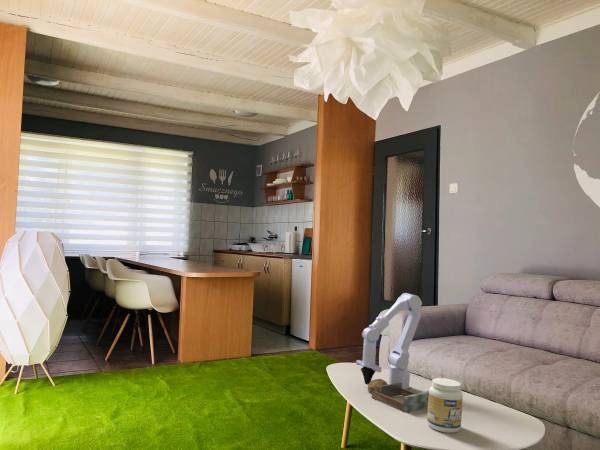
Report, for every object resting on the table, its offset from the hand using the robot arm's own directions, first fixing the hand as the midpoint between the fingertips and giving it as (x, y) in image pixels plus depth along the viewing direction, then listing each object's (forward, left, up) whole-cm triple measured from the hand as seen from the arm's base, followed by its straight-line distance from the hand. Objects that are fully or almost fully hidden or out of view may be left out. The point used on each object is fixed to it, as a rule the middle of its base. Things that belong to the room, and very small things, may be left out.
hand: (367, 384), depth 224 cm
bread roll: (0, +7, -2) cm, 7 cm away
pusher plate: (0, +14, -2) cm, 14 cm away
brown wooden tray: (0, +20, -2) cm, 20 cm away
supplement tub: (+7, +47, -2) cm, 48 cm away
